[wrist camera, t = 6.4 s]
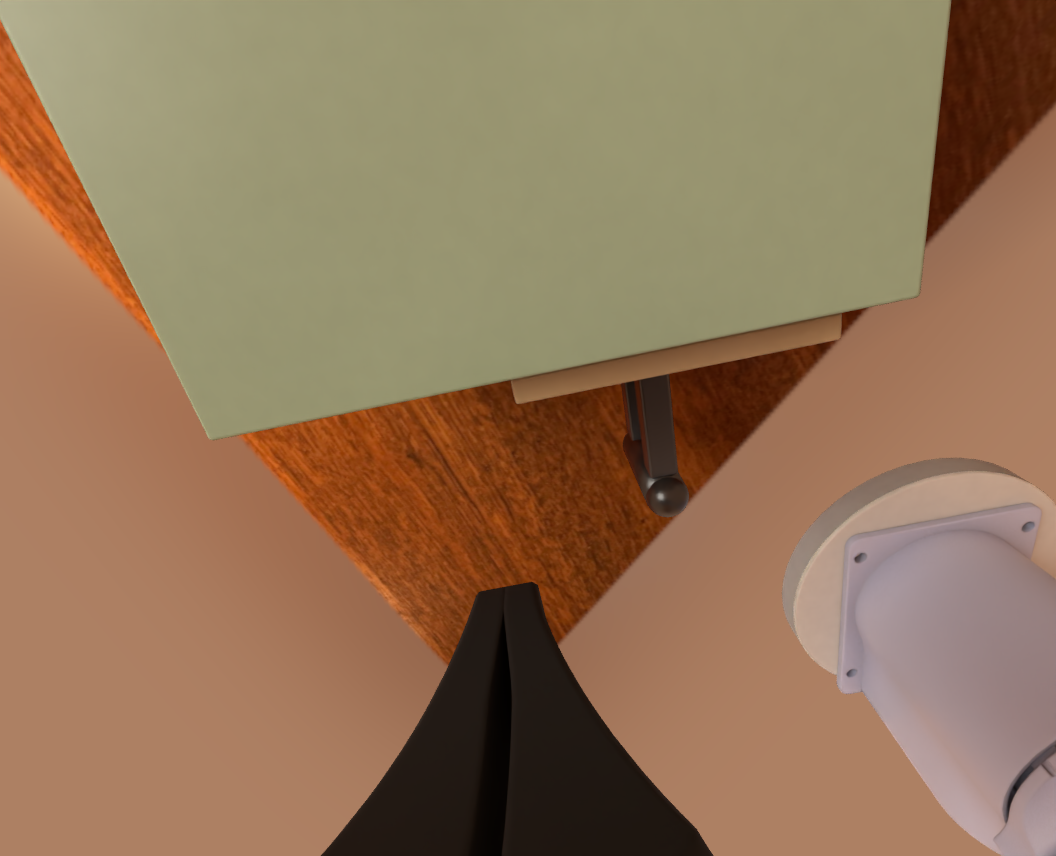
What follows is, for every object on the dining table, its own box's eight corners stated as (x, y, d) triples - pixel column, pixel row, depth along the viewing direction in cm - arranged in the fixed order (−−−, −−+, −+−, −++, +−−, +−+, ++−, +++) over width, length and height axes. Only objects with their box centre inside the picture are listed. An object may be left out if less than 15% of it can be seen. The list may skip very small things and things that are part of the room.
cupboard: (741, 282, 19) (914, 367, 11) (342, 364, 20) (238, 501, 12) (727, -166, 14) (1017, -580, 6) (197, -40, 15) (-150, -274, 7)
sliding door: (728, 421, 20) (832, 538, 14) (539, 458, 21) (557, 590, 14) (721, 259, 18) (844, 312, 12) (505, 304, 18) (509, 380, 12)
